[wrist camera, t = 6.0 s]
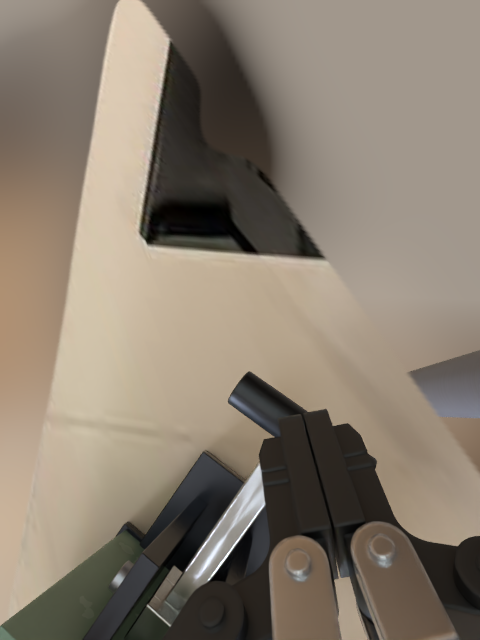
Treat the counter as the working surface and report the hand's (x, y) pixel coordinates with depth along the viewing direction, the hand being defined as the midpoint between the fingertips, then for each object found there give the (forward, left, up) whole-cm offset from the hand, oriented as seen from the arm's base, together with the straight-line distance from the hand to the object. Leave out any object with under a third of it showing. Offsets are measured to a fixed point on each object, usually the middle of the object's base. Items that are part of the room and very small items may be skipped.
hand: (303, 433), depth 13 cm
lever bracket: (+11, 0, -20) cm, 23 cm away
